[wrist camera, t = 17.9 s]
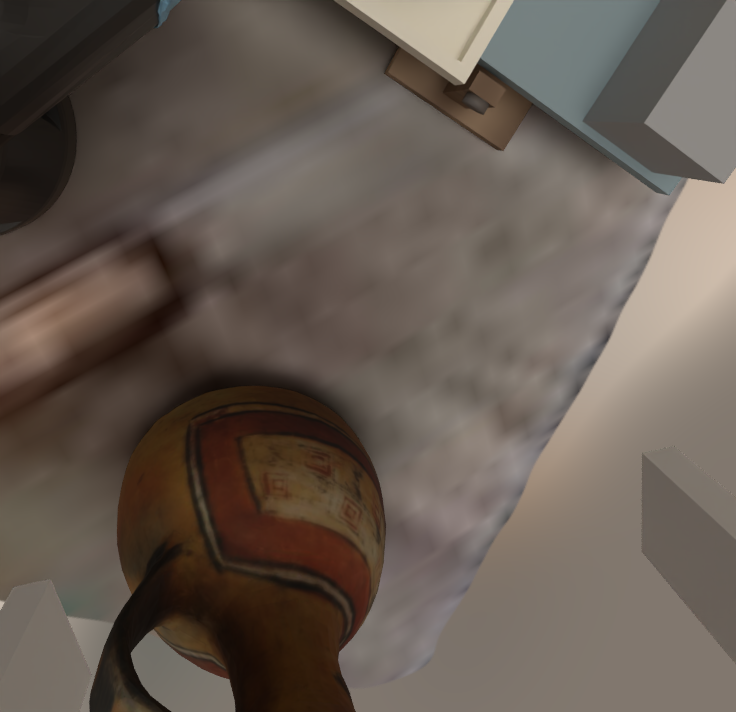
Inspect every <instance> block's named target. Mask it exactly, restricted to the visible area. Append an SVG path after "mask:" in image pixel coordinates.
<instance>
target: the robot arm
mask: <svg viewBox="0 0 736 712" xmlns="http://www.w3.org/2000/svg"><path fill="white" fill-rule="evenodd" d="M180 1H181V0H0V235H3V234H6V233H9V232H11V231H13V230H16V229H18V228H20V227H22V226H25V225H27V224H28V223H30V222H32V221H34V220H35V219H37V218H38V217H39V216H41V215H42V214H43V213H44V212H46V211H47V210H48V209H49V208H50V207H51V206H52V205H53V203H54V202H55V201H56V200H57V198H58V197H59V196H60V194H61V193H62V191H63V189H64V188H65V186H66V184H67V182H68V179H69V177H70V174H71V171H72V168H73V164H74V159H75V152H76V127H75V120H74V114H73V110H72V106H71V103H70V100H69V97H68V95H69V94H70V93H71V92H73V91H74V90H75V89H76V88H78V87H79V86H80V85H81V84H83V83H84V82H85V81H87V80H88V79H89V78H90V77H92V76H93V75H94V74H95V73H97V72H98V71H99V70H100V69H102V68H103V67H104V66H106V65H107V64H108V63H109V62H111V61H112V60H113V59H114V58H116V57H117V56H118V55H119V54H121V53H122V52H123V51H124V50H126V49H127V48H128V47H130V46H131V45H132V44H133V43H135V42H136V41H137V40H138V39H140V38H141V37H142V36H143V35H145V34H146V33H147V32H149V31H150V30H151V29H152V28H158V27H160V26H161V25H162V23H163V22H164V21H166V19H167V17H168V15H169V11H170V10H171V9H172V8H173V7H174V6H176V5H177V4H178V3H179V2H180ZM642 553H643V554H644V555H645V556H646V557H647V559H648V560H649V561H650V562H651V563H652V564H653V566H654V567H655V568H656V569H657V571H658V572H659V573H660V574H661V575H662V577H663V578H664V579H665V580H666V581H667V582H668V584H669V585H670V586H671V587H672V589H673V590H674V591H675V592H676V593H677V595H678V596H679V597H680V598H681V599H682V600H683V602H684V603H685V604H686V605H687V606H688V608H689V609H690V610H691V611H692V612H693V614H695V616H696V617H697V618H698V620H699V621H700V622H701V623H702V624H703V625H704V627H705V628H706V629H707V630H708V632H709V633H710V634H711V635H712V636H713V638H714V639H715V640H716V641H717V642H718V644H719V645H720V646H721V647H722V648H723V649H724V651H725V652H726V653H727V654H728V655H729V657H730V658H731V659H732V660H733V661H734V663H735V664H736V497H735V496H734V495H733V494H731V493H730V492H729V491H728V490H726V489H725V488H724V487H723V486H722V485H720V484H719V483H718V482H717V481H716V480H715V479H713V478H712V477H711V476H710V475H708V474H707V473H706V472H705V471H704V470H702V469H701V468H700V467H699V466H698V465H696V464H695V463H694V462H693V461H692V460H690V459H689V458H688V457H687V456H686V455H684V454H683V453H682V452H681V451H680V450H678V449H677V448H676V447H675V446H674V447H669V448H664V449H660V450H655V451H650V452H645V453H642ZM91 675H92V674H91V672H90V669H89V667H88V665H87V663H86V660H85V658H84V655H83V653H82V651H81V648H80V646H79V644H78V642H77V639H76V637H75V635H74V632H73V630H72V628H71V626H70V623H69V621H68V618H67V616H66V614H65V611H64V609H63V607H62V604H61V602H60V600H59V597H58V595H57V593H56V590H55V588H54V586H53V584H52V581H51V579H48V580H44V581H39V582H34V583H30V584H25V585H20V586H16V587H13V589H12V591H11V592H10V594H9V596H8V598H7V600H6V601H5V603H4V605H3V607H2V609H1V610H0V712H80V708H81V706H82V702H83V699H84V697H85V694H86V691H87V688H88V684H89V681H90V679H91Z"/></svg>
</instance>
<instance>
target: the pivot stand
mask: <svg viewBox="0 0 736 712" xmlns="http://www.w3.org/2000/svg"><path fill="white" fill-rule="evenodd" d="M384 74H386V75H387V76H389V77H390V78H392V79H393V80H395V81H396V82H398V83H399V84H401V85H402V86H403V87H405V88H406V89H408V90H409V91H411V92H412V93H414V94H415V95H417V96H418V97H420V98H421V99H423V100H424V101H426V102H427V103H429V104H430V105H432V106H433V107H434V108H436V109H437V110H439V111H440V112H442V113H443V114H445V115H446V116H448V117H449V118H451V119H452V120H454V121H455V122H457V123H458V124H460V125H461V126H463V127H464V128H465V129H467V130H468V131H470V132H471V133H473V134H474V135H476V136H477V137H479V138H480V139H482V140H483V141H485V142H486V143H488V144H489V145H491V146H492V147H494V148H495V149H496V150H502V151H504V149H505V147H506V146H507V144H508V142H509V141H510V139H511V138H512V136H513V134H514V133H515V131H516V130H517V128H518V126H519V125H520V123H521V122H522V120H523V118H524V117H525V115H526V114H527V112H528V110H529V109H530V107H531V106H532V104H533V103H532V102H530V101H529V100H527V99H526V98H525V97H523V96H522V95H521V94H519V93H518V92H516V91H515V90H514V89H512V88H511V87H509V86H508V85H507V84H505V83H504V82H503V81H501V80H500V79H498V78H497V77H496V76H494V75H493V74H491V73H490V72H489V71H487V70H486V69H485V68H483V67H482V66H480V65H479V64H478V63H477V64H476V66H475V67H474V69H473V71H472V72H471V74H470V76H469V77H468V79H467V81H466V83H465V84H461V85H454V84H452V83H451V82H450V81H448V80H447V79H445V78H444V77H442V76H441V75H440V74H438V73H437V72H435V71H434V70H432V69H431V68H430V67H428V66H427V65H425V64H424V63H422V62H421V61H420V60H418V59H417V58H415V57H414V56H412V55H411V54H410V53H408V52H407V51H405V50H404V49H402V48H401V47H400V46H399V48H398V50H397V51H396V53H395V55H394V57H393V59H392V60H391V62H390V64H389V66H388V68H387V69H386V71H385V73H384Z"/></svg>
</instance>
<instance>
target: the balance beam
mask: <svg viewBox="0 0 736 712" xmlns="http://www.w3.org/2000/svg"><path fill="white" fill-rule="evenodd" d="M334 1H335V2H337V3H338V4H340V5H341V6H342V7H344V8H345V9H347V10H348V11H350V12H351V13H352V14H354V15H355V16H357V17H358V18H360V19H361V20H362V21H364V22H365V23H367V24H368V25H370V26H371V27H372V28H374V29H375V30H377V31H378V32H380V33H381V34H382V35H384V36H385V37H387V38H388V39H390V40H391V41H392V42H394V43H395V44H397V45H398V46H400V47H401V48H402V49H404V50H405V51H407V52H408V53H410V54H411V55H412V56H414V57H415V58H417V59H418V60H420V61H421V62H422V63H424V64H425V65H427V66H428V67H430V68H431V69H432V70H434V71H435V72H437V73H438V74H440V75H441V76H442V77H444V78H445V79H447V80H448V81H450V82H451V83H452V84H454V85H461V84H465V83H466V81H467V79H468V77H469V76H470V74H471V72H472V71H473V69H474V67H475V66H476V64H477V63H478V64H479V65H480V66H482V67H483V68H485V69H486V70H487V71H489V72H490V73H491V74H493V75H494V76H496V77H497V78H498V79H500V80H501V81H503V82H504V83H505V84H507V85H508V86H509V87H511V88H512V89H514V90H515V91H516V92H518V93H519V94H521V95H522V96H523V97H525V98H526V99H527V100H529V101H530V102H532V103H533V104H534V105H536V106H537V107H539V108H540V109H541V110H543V111H544V112H545V113H547V114H548V115H550V116H551V117H552V118H554V119H555V120H557V121H558V122H559V123H561V124H562V125H563V126H565V127H566V128H568V129H569V130H570V131H572V132H573V133H575V134H576V135H577V136H579V137H580V138H581V139H583V140H584V141H586V142H587V143H588V144H590V145H591V146H593V147H594V148H595V149H597V150H598V151H599V152H601V153H602V154H604V155H605V156H606V157H608V158H609V159H611V160H612V161H613V162H615V163H616V164H617V165H619V166H620V167H622V168H623V169H624V170H626V171H627V172H629V173H630V174H631V175H633V176H634V177H635V178H637V179H638V180H640V181H641V182H642V183H644V184H645V185H647V186H648V187H649V188H651V189H652V190H653V191H655V192H656V193H660V194H665V195H670V194H671V192H672V191H673V190H674V188H675V187H676V185H677V184H678V182H679V181H680V180H681V178H682V177H684V178H691V179H697V180H704V181H710V182H717V183H723V184H724V183H725V182H726V180H727V179H728V178H729V176H730V175H731V173H732V172H733V171H734V169H735V168H736V0H334Z"/></svg>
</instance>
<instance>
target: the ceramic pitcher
mask: <svg viewBox="0 0 736 712" xmlns="http://www.w3.org/2000/svg"><path fill="white" fill-rule="evenodd" d="M385 535H386V523H385V515H384V506H383V498H382V493H381V488H380V484H379V480H378V477H377V474H376V471H375V469H374V466H373V464H372V462H371V459H370V457H369V455H368V454H367V452H366V450H365V449H364V447H363V445H362V443H361V442H360V440H359V439H358V437H357V436H356V434H355V433H354V432H353V430H352V429H351V428H350V427H349V426H348V425H347V424H346V422H345V421H344V420H343V419H342V418H341V417H340V416H339V415H337V414H336V413H335V412H334V411H332V410H331V409H329V408H328V407H326V406H325V405H323V404H321V403H319V402H318V401H316V400H314V399H312V398H310V397H307V396H305V395H302V394H300V393H298V392H295V391H291V390H288V389H282V388H275V387H267V386H239V387H232V388H226V389H221V390H216V391H212V392H208V393H205V394H203V395H200V396H198V397H196V398H193V399H191V400H189V401H187V402H185V403H183V404H181V405H180V406H178V407H176V408H175V409H173V410H172V411H171V412H169V413H168V414H166V415H164V416H163V417H161V418H160V419H158V420H157V421H156V422H155V423H154V425H153V426H152V427H151V428H150V430H149V431H148V432H147V433H146V435H145V436H144V437H143V438H142V440H141V441H140V442H139V444H138V445H137V447H136V449H135V450H134V452H133V454H132V455H131V457H130V460H129V463H128V466H127V468H126V472H125V475H124V479H123V482H122V488H121V493H120V499H119V505H118V519H117V546H118V551H119V557H120V562H121V567H122V571H123V573H124V576H125V579H126V581H127V584H128V587H129V589H130V591H131V594H132V596H131V597H130V599H129V600H128V602H127V603H126V604H125V606H124V607H123V609H122V610H121V612H120V614H119V615H118V617H117V619H116V620H115V622H114V625H113V628H112V630H111V632H110V634H109V637H108V639H107V641H106V643H105V646H104V649H103V652H102V655H101V658H100V661H99V665H98V668H97V672H96V675H95V679H94V682H93V686H92V689H91V694H90V701H89V702H90V703H89V704H90V712H171V711H170V710H168V709H167V708H166V707H164V706H163V705H162V704H160V703H159V702H158V701H156V700H155V699H154V698H153V697H151V696H150V695H149V693H148V692H147V691H146V690H145V688H144V687H143V685H142V684H141V682H140V680H139V678H138V675H137V673H136V671H135V669H134V666H133V662H132V658H131V652H132V650H133V649H134V648H135V646H136V645H137V644H138V643H139V642H140V641H141V640H142V639H143V637H144V636H145V635H146V634H147V633H148V632H150V631H151V630H153V629H154V630H155V631H156V632H157V634H158V635H159V636H160V638H161V639H162V640H163V641H164V642H165V643H166V644H168V645H169V646H170V647H171V648H172V649H173V650H175V651H176V652H177V653H178V654H179V655H181V656H182V657H184V658H185V659H187V660H189V661H190V662H192V663H193V664H195V665H197V666H198V667H200V668H201V669H204V670H206V671H208V672H210V673H213V674H215V675H218V676H220V677H223V678H227V679H230V683H231V687H232V691H233V696H234V699H235V708H236V709H235V710H236V712H356V711H355V709H354V706H353V703H352V699H351V696H350V693H349V690H348V688H347V685H346V683H345V681H344V679H343V677H342V674H341V671H340V667H339V663H338V655H339V651H341V650H342V649H343V648H344V647H345V645H346V644H347V643H348V642H349V641H350V640H351V639H352V638H353V637H354V635H355V634H356V632H357V631H358V630H359V628H360V627H361V626H362V624H363V622H364V621H365V619H366V617H367V615H368V613H369V611H370V609H371V607H372V604H373V602H374V599H375V596H376V594H377V591H378V587H379V582H380V577H381V573H382V568H383V563H384V549H385Z"/></svg>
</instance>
